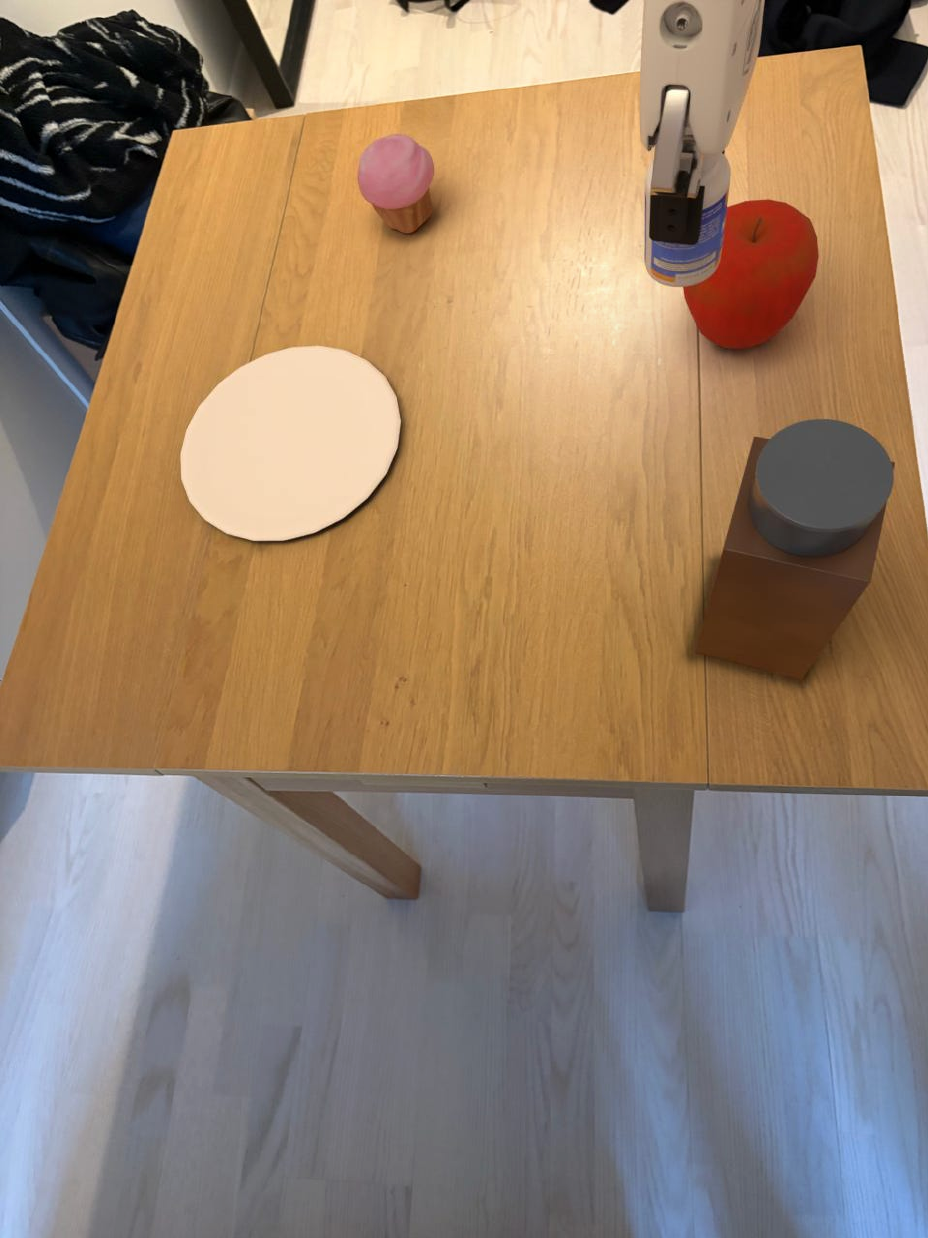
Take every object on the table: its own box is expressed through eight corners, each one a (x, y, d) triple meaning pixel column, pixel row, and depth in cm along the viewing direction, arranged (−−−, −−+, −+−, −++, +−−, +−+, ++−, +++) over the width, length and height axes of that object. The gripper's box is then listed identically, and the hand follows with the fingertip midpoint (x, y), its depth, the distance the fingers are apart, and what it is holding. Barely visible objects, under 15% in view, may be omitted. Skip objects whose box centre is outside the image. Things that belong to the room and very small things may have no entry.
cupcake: (457, 206, 96) (441, 128, 86) (417, 257, 94) (396, 183, 84) (399, 186, 99) (377, 109, 90) (359, 235, 97) (332, 161, 88)
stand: (822, 587, 70) (895, 461, 52) (801, 680, 67) (870, 582, 49) (719, 563, 73) (754, 435, 54) (694, 652, 70) (723, 549, 52)
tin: (884, 467, 52) (904, 431, 48) (862, 571, 49) (881, 541, 46) (761, 444, 54) (771, 408, 50) (734, 543, 52) (743, 512, 48)
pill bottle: (734, 269, 56) (754, 141, 47) (664, 301, 56) (671, 179, 47) (697, 222, 58) (709, 92, 50) (630, 252, 58) (630, 128, 50)
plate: (369, 321, 91) (366, 313, 90) (431, 494, 81) (428, 488, 80) (168, 398, 92) (163, 391, 91) (204, 579, 82) (198, 574, 81)
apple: (745, 266, 85) (768, 145, 72) (825, 333, 80) (865, 216, 67) (651, 327, 84) (658, 215, 71) (726, 398, 79) (748, 292, 66)
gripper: (754, -11, 33) (712, 311, 49) (834, -240, 38) (772, 120, 55) (579, -13, 35) (594, 295, 51) (678, -229, 40) (663, 113, 57)
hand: (686, 202), depth 53 cm, fingers closed on pill bottle, 5 cm apart
